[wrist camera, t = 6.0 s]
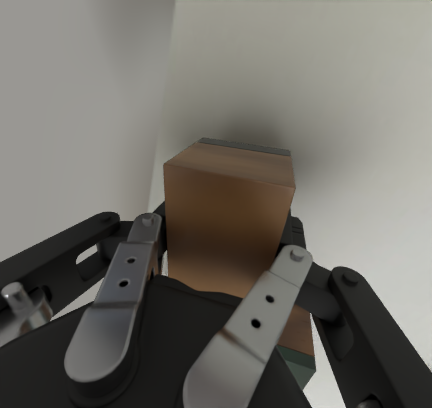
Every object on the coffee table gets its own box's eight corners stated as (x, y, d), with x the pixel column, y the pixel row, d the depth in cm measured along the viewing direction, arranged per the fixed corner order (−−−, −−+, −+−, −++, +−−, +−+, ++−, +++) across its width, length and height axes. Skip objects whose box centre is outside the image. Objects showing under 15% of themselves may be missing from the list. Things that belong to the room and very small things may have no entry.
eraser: (262, 258, 16) (255, 323, 11) (197, 242, 16) (168, 296, 12) (290, 150, 12) (296, 187, 7) (202, 137, 12) (162, 163, 8)
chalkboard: (179, 372, 37) (163, 417, 32) (177, 266, 24) (149, 315, 19) (260, 403, 34) (256, 457, 29) (308, 302, 21) (316, 370, 16)
